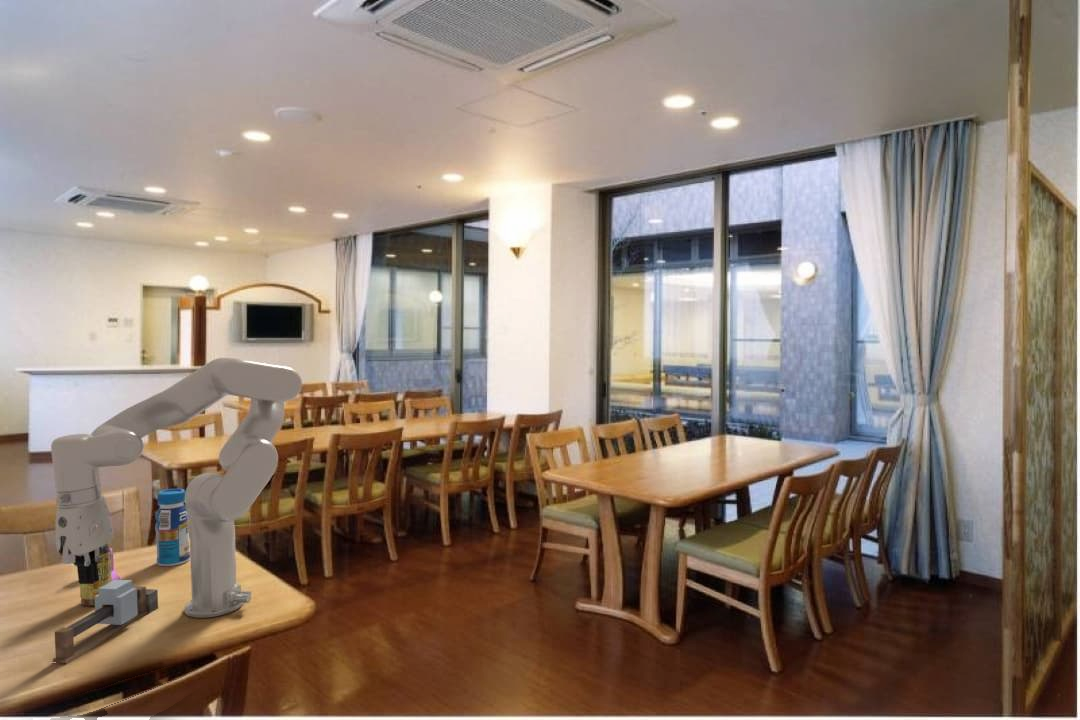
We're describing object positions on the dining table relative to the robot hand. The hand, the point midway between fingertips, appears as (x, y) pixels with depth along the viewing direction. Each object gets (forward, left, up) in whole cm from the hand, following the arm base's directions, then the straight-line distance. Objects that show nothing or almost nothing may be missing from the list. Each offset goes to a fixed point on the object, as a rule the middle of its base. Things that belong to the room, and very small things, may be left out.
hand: (89, 582), depth 138 cm
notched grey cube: (+1, -8, -12) cm, 14 cm away
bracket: (+24, -33, -14) cm, 43 cm away
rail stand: (+1, -6, -14) cm, 15 cm away
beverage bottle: (+15, -47, -14) cm, 52 cm away
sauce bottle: (+16, -20, -14) cm, 29 cm away
